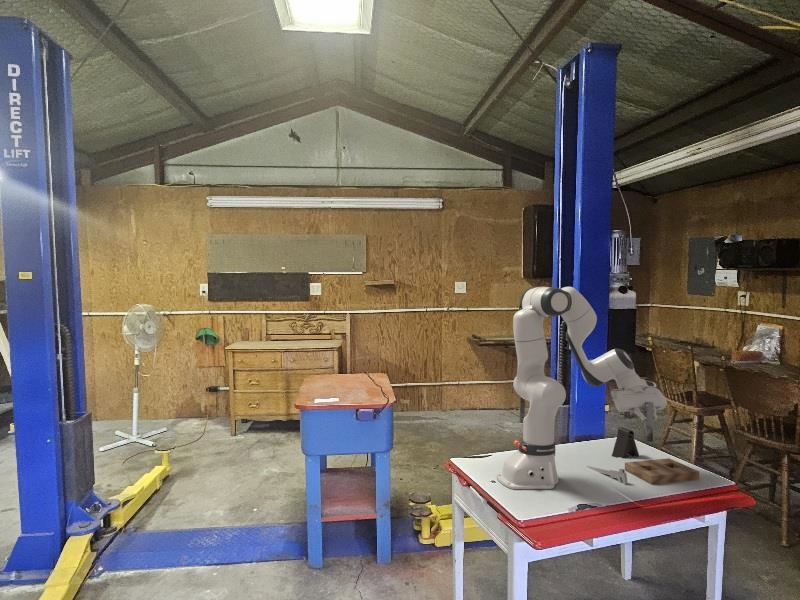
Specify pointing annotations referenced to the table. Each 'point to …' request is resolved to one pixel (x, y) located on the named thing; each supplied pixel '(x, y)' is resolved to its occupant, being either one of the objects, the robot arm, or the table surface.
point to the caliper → (613, 474)
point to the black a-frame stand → (625, 444)
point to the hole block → (661, 471)
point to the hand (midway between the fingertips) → (650, 419)
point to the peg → (649, 421)
